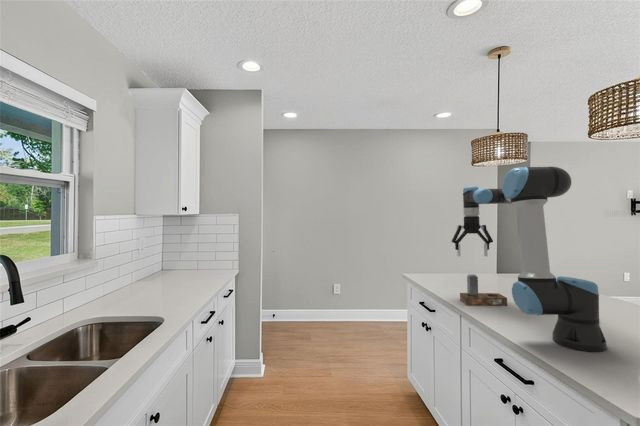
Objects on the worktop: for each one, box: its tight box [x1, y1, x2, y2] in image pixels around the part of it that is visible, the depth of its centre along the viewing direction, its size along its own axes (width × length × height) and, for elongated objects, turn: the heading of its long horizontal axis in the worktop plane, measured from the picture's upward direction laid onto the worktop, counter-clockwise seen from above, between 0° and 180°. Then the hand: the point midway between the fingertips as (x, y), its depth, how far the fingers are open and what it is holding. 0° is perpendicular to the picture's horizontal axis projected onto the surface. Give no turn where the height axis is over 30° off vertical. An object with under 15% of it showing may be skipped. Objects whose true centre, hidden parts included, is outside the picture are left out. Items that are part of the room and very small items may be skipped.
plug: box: [466, 273, 479, 296], centre depth 171 cm, size 4×4×15 cm
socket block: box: [459, 292, 508, 307], centre depth 170 cm, size 20×10×4 cm, turn 84°
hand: (472, 256), depth 171 cm, fingers open, 13 cm apart
